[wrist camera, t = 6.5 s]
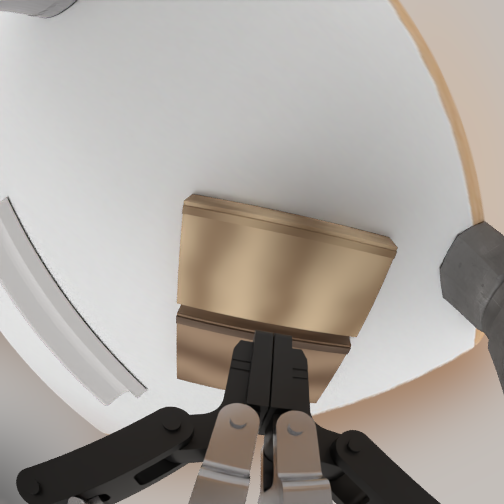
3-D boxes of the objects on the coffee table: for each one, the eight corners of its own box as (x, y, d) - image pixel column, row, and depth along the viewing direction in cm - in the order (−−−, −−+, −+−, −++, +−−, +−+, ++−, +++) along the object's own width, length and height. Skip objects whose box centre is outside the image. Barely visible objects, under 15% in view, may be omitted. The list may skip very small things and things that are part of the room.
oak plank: (183, 290, 25) (176, 304, 23) (192, 193, 21) (183, 201, 19) (352, 323, 25) (356, 338, 23) (389, 237, 21) (398, 248, 19)
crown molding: (148, 385, 34) (140, 404, 31) (101, 389, 38) (93, 405, 34) (11, 195, 23) (-10, 205, 20) (-14, 235, 26) (-29, 246, 23)
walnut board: (183, 300, 25) (176, 314, 23) (347, 331, 25) (351, 347, 23) (181, 365, 30) (176, 379, 28) (314, 389, 30) (315, 404, 28)
